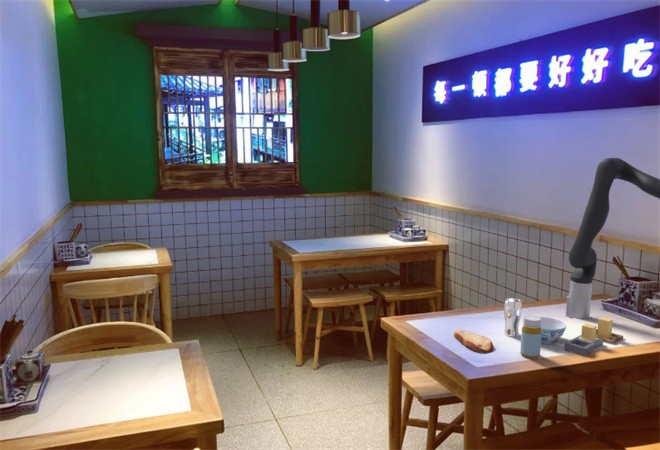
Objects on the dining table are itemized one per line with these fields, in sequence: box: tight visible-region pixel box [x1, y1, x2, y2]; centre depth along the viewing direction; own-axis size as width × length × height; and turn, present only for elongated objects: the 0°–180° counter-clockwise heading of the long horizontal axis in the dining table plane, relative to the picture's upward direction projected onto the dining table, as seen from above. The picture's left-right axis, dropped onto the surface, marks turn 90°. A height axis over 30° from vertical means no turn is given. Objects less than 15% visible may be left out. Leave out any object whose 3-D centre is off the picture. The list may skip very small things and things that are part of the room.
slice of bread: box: [453, 329, 494, 354], centre depth 218 cm, size 18×18×4 cm
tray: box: [596, 328, 624, 345], centre depth 222 cm, size 11×10×2 cm
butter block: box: [597, 316, 614, 339], centre depth 221 cm, size 4×4×8 cm
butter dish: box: [564, 323, 604, 357], centre depth 212 cm, size 8×15×8 cm, turn 130°
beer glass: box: [503, 297, 523, 338], centre depth 227 cm, size 7×7×15 cm
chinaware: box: [539, 316, 567, 345], centre depth 220 cm, size 15×15×8 cm
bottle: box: [519, 314, 542, 360], centre depth 204 cm, size 7×7×15 cm
